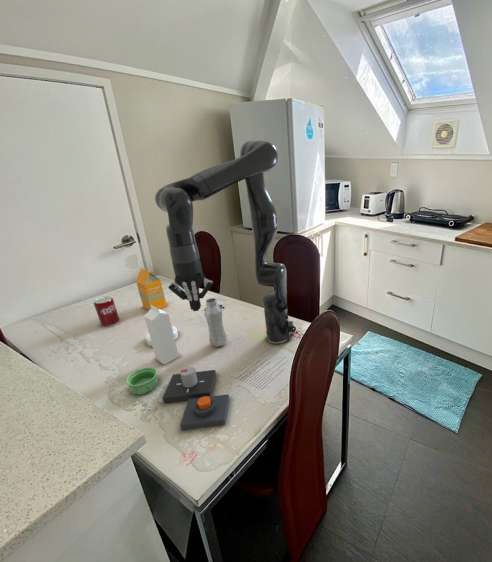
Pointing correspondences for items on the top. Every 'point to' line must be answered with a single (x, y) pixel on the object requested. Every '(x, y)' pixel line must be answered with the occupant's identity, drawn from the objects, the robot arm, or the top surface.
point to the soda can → (106, 311)
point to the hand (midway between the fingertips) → (196, 309)
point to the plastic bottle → (215, 323)
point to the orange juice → (150, 290)
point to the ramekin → (142, 380)
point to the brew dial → (188, 376)
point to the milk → (161, 335)
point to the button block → (205, 413)
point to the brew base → (181, 393)
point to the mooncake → (150, 339)
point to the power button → (204, 403)
